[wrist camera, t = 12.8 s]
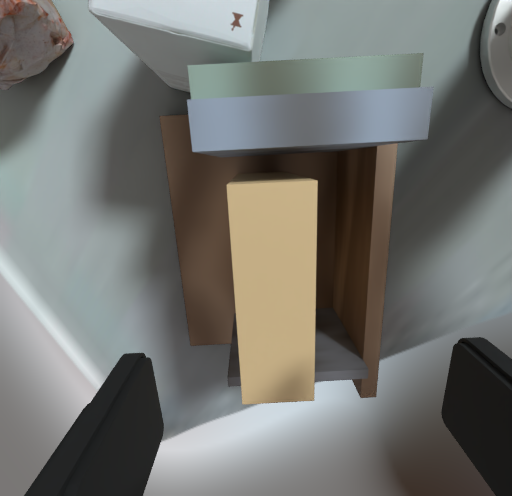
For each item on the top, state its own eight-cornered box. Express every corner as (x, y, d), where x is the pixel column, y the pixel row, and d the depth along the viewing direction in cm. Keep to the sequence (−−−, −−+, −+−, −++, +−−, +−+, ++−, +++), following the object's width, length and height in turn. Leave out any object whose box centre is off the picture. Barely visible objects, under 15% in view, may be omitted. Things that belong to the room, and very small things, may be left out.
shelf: (347, 109, 25) (468, 42, 11) (339, 329, 31) (410, 461, 17) (164, 118, 25) (58, 63, 11) (193, 337, 31) (148, 477, 17)
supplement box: (270, 9, 23) (294, -163, 11) (251, 108, 25) (252, 57, 13) (178, -16, 22) (93, -229, 10) (166, 87, 24) (83, 13, 12)
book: (283, 171, 25) (317, 180, 13) (285, 296, 28) (314, 400, 16) (238, 173, 25) (226, 184, 13) (245, 298, 28) (242, 404, 16)
